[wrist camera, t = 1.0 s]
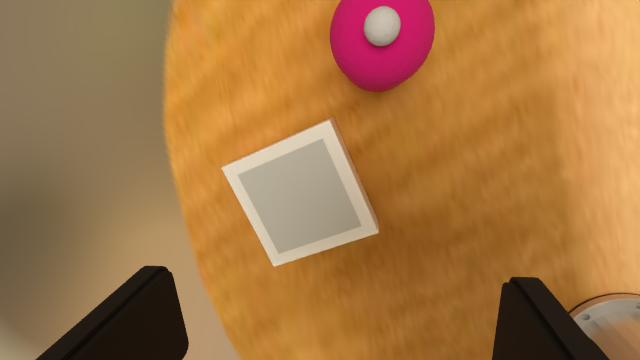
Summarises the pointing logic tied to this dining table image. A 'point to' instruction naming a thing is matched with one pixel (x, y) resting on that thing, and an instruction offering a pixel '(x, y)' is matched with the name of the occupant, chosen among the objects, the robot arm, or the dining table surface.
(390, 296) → the dining table surface
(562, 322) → the robot arm
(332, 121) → the stand
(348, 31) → the pepper mill
